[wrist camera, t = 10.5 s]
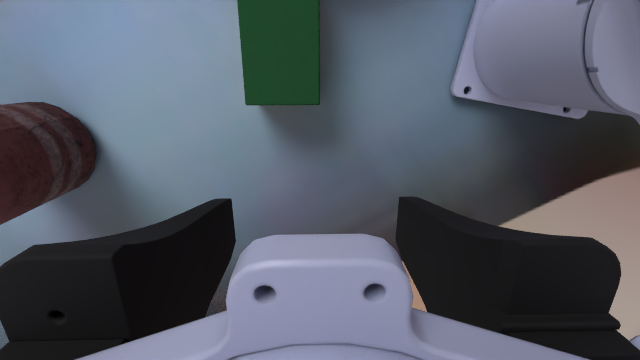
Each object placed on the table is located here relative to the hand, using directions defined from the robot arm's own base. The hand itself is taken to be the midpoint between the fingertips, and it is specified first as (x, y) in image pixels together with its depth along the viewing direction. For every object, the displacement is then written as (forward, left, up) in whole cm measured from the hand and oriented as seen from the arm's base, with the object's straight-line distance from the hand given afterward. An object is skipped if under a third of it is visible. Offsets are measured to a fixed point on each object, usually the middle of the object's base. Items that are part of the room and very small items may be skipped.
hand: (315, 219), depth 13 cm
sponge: (+3, -7, -9) cm, 12 cm away
